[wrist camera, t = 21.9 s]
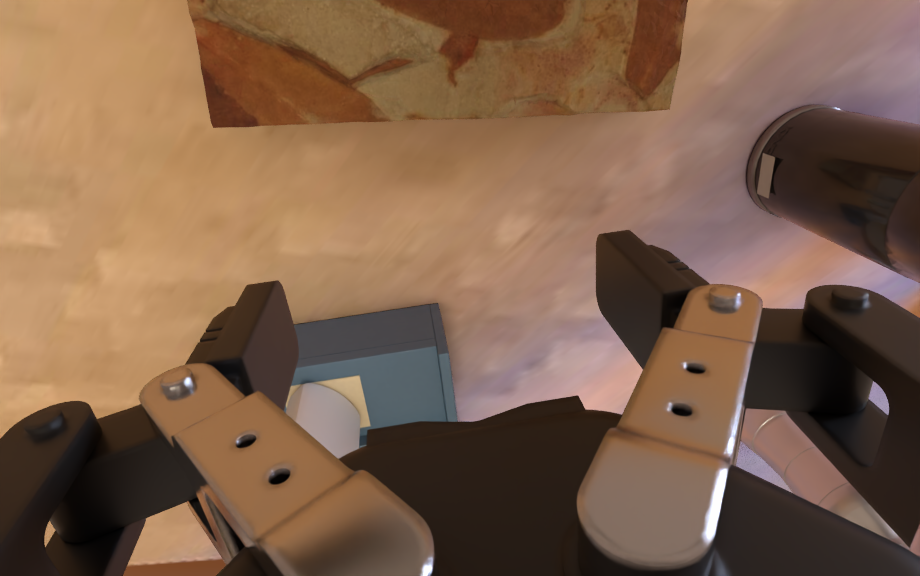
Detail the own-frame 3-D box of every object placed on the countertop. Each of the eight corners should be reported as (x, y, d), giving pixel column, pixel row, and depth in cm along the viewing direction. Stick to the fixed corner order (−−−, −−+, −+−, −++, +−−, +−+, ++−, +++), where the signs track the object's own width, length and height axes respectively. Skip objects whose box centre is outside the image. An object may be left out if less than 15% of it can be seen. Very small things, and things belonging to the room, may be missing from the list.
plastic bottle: (788, 410, 59) (964, 576, 41) (732, 439, 60) (880, 615, 42) (773, 370, 56) (955, 530, 39) (714, 401, 57) (865, 572, 39)
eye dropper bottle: (314, 440, 44) (293, 575, 33) (283, 387, 41) (249, 515, 30) (365, 423, 44) (360, 552, 33) (337, 369, 41) (322, 490, 30)
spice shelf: (438, 302, 48) (448, 352, 41) (456, 441, 55) (468, 505, 48) (206, 337, 46) (174, 396, 39) (256, 475, 53) (237, 546, 46)
